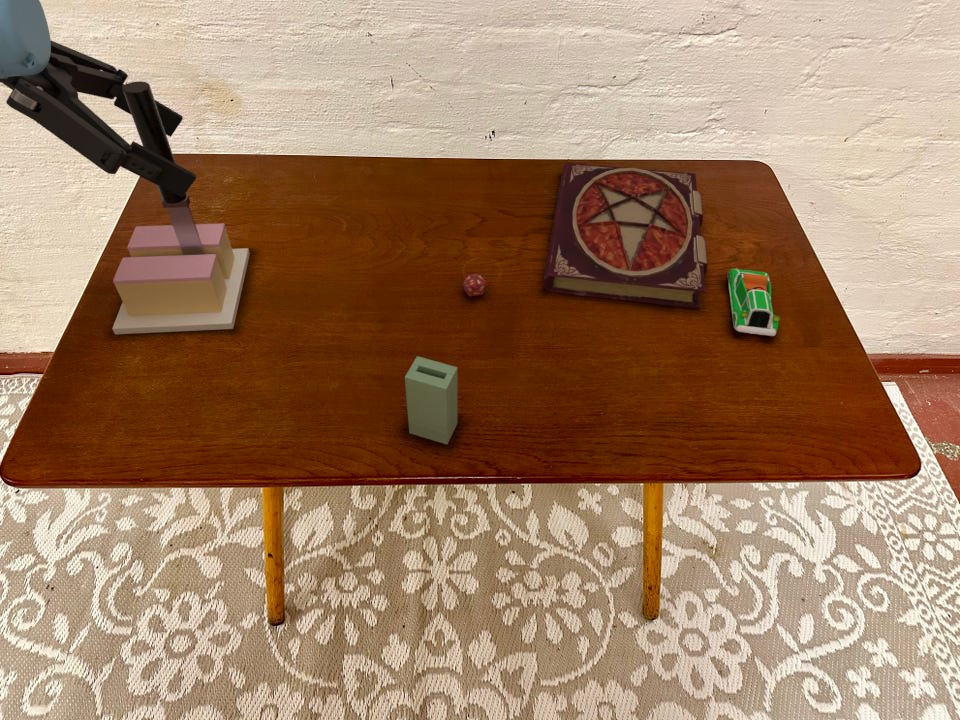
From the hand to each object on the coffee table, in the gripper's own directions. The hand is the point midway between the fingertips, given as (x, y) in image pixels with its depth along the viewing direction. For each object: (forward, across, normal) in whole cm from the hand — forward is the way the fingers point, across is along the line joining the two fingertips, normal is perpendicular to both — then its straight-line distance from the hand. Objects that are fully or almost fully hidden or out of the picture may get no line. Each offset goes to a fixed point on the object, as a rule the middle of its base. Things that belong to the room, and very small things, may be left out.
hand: (182, 154), depth 75 cm
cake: (+10, -1, -17) cm, 20 cm away
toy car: (+58, +28, +30) cm, 71 cm away
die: (+35, +13, +8) cm, 38 cm away
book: (+53, +9, +25) cm, 59 cm away
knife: (+11, 0, -14) cm, 18 cm away
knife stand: (+26, +32, -1) cm, 41 cm away
